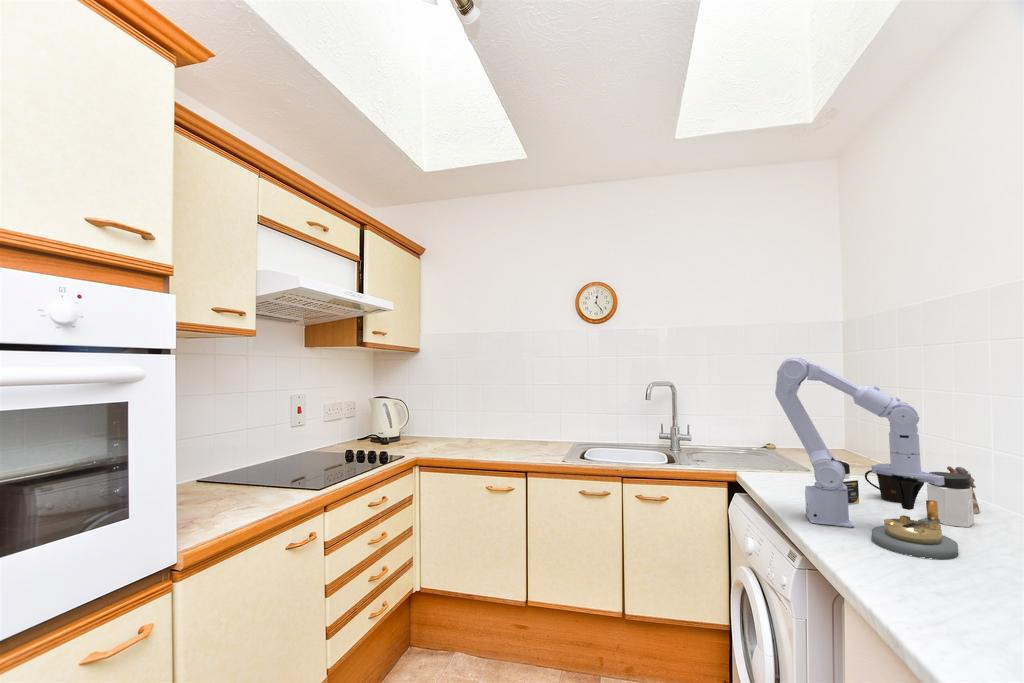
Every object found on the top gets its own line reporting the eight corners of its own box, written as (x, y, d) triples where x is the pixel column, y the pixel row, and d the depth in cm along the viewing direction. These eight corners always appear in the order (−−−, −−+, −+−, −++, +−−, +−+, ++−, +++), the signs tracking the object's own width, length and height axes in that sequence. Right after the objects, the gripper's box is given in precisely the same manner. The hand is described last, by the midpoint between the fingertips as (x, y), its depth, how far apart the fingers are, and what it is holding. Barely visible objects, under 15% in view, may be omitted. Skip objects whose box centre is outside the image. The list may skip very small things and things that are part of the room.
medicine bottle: (841, 505, 138) (839, 464, 138) (819, 499, 145) (817, 459, 145) (859, 503, 140) (857, 462, 140) (837, 496, 147) (835, 457, 147)
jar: (967, 529, 117) (964, 480, 117) (925, 521, 123) (922, 474, 124) (978, 522, 122) (974, 475, 122) (936, 514, 128) (934, 470, 129)
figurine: (983, 515, 127) (980, 470, 127) (948, 511, 130) (945, 468, 131) (975, 508, 133) (972, 465, 133) (941, 505, 137) (939, 463, 137)
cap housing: (883, 553, 103) (882, 544, 103) (863, 530, 117) (863, 522, 117) (972, 563, 97) (971, 553, 98) (940, 538, 111) (940, 530, 111)
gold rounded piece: (925, 547, 101) (923, 514, 101) (874, 532, 110) (873, 502, 111) (962, 537, 106) (960, 506, 106) (911, 524, 115) (909, 495, 116)
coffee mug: (910, 498, 144) (908, 465, 144) (916, 505, 136) (914, 470, 137) (863, 493, 150) (861, 461, 150) (866, 500, 142) (864, 466, 143)
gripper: (950, 456, 111) (954, 515, 110) (882, 446, 124) (885, 499, 123) (932, 458, 108) (936, 519, 107) (865, 448, 121) (868, 502, 121)
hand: (908, 508), depth 115 cm, fingers closed
